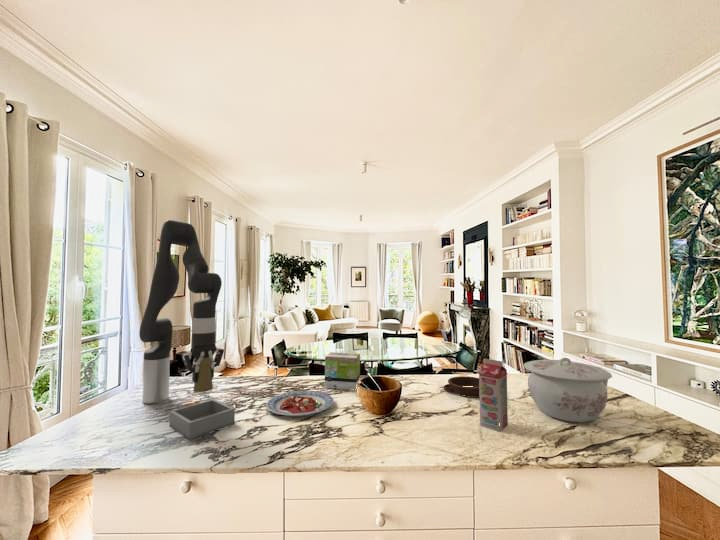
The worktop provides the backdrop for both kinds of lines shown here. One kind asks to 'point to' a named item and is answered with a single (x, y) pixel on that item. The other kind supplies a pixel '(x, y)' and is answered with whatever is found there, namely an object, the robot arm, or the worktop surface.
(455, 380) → the dish
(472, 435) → the worktop surface
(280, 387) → the worktop surface
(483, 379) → the juice carton
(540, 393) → the chamber pot
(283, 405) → the ceramic plate
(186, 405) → the pastry
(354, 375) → the tea box
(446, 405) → the worktop surface
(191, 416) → the bin
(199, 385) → the cork
